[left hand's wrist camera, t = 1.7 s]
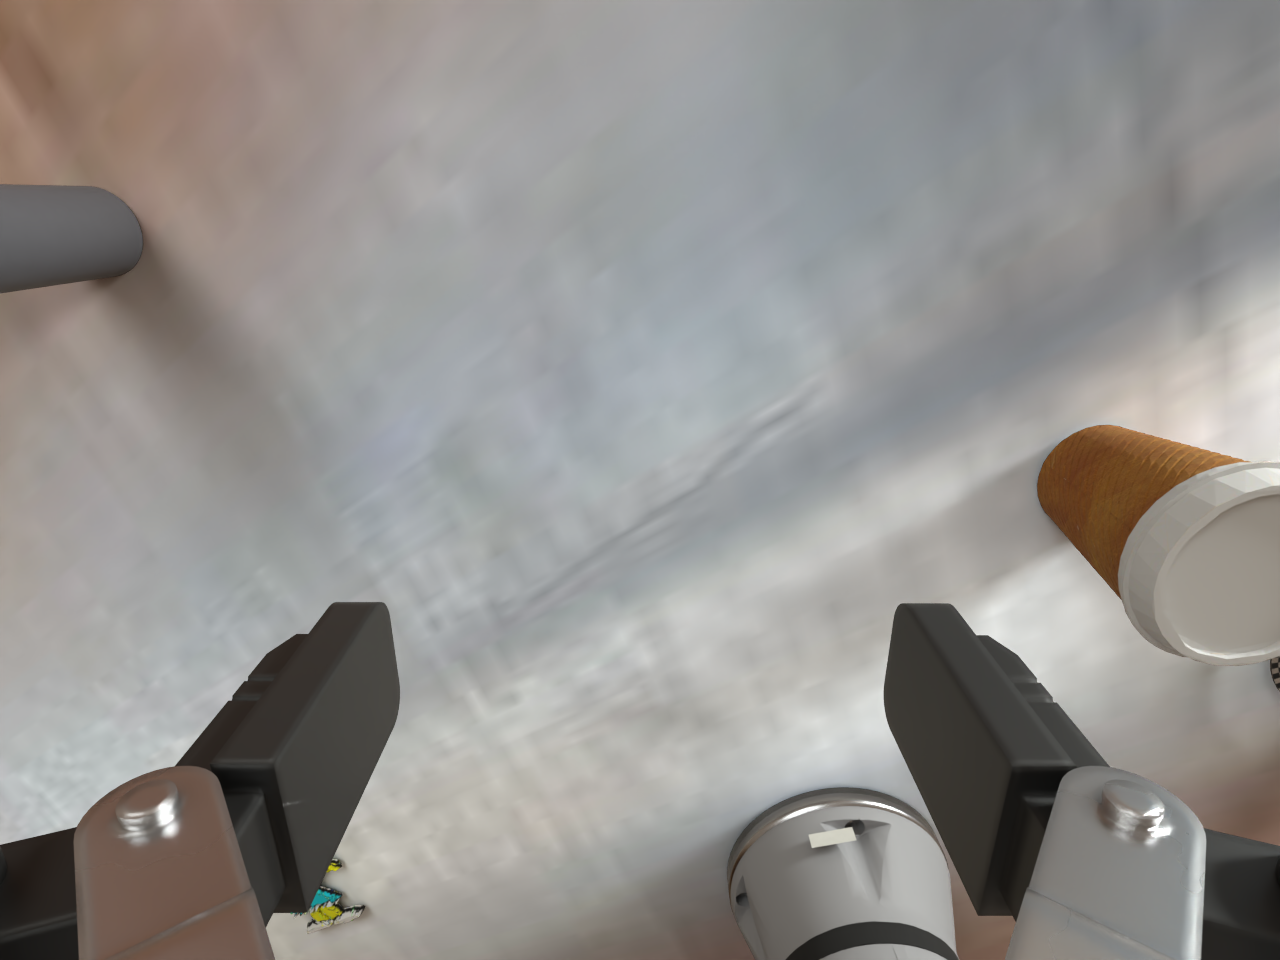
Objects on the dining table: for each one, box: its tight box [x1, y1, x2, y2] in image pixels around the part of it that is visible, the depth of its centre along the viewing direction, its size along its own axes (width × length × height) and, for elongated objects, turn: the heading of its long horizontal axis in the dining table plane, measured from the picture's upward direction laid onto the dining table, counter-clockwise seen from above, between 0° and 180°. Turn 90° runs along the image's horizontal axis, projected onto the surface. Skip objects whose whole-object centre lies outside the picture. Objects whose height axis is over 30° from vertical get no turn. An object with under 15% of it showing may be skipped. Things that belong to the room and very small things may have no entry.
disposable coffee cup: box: [1037, 425, 1280, 666], centre depth 36 cm, size 10×10×12 cm
